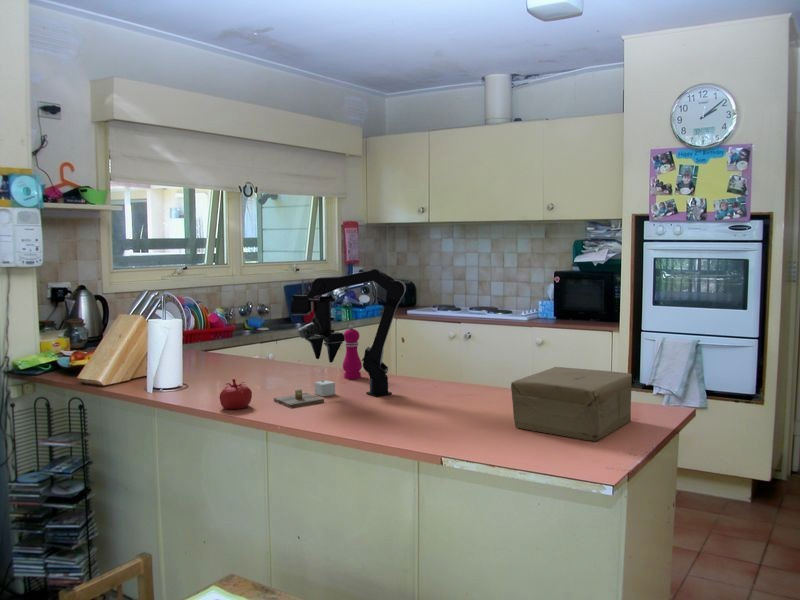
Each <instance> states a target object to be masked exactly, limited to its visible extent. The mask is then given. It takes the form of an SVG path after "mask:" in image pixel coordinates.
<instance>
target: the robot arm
mask: <svg viewBox="0 0 800 600" xmlns="http://www.w3.org/2000/svg"><path fill="white" fill-rule="evenodd" d="M370 282H374V283H376V284H377V285H378V286H380V287H381V288H382V289H384V290H385V291H386V294H385V295H386V296H385V305H384V309H383V312H382V315H381V318H380V320H379V324H378V327H377V330H376V334H375V336H374V340H373V343H372V345H371V347H369V346H367V347H366V348H365V349H364V355H363V358H362V359H361V362H362V367H363V370H364V371H365V372H366V373H368V376H369V391H366V395H370V396H373V397H377V398H378V397H383V396H387V395H388V396H389V395H393V392H392V391H389V377H388V375H387V374H388V372H389V366H387V365H386V364H385V363H384V362H383V359H384V358H383V357H384V350H385V349H384V348H385V344H386V341H387V338H388V335H389V332H390V329H391V326H392V322H393V319H394V317H395V313H396V311H397V308H398V306H399V304H400V303H401V300H402V299H403V297H404V295H405V293H406V291H407V285H406V283H405V282H404V281H403V280H400V279H394V278H393V277H391V276H389V275H388V274H386V273H384V272H383V271H381V270H380V269H379V268H372V269H371V270H366V271H360V272H356V273H351V274H345V275H341V276H321V277H318V278H315V279H314V280H313V282H312V283H311V289H310V290H309V292H308V293H307V294H306V295H305V294H303V295H302V294H301V295H299V294H292V295H291V298H292V299H291V303H290V313H291V315H292V316H309V315H310V314H311V313H312V312H313V314H314V315H313V317H311V320H310V323H308V324H305V325H303V326H301V327H299V328H298V333H299V336H300V338H301V339H304V340H305V341H307V342H308V343H310V345H311V348H312V350H313V354H314V357H315V359H316V360H319V359H320V357H321V353H322V349H323V344H324V345H325V347H326V348H327V356H328V362H329V363H333V362H334V361H335V358H336V355H337V353H338V351H339V349H340V348H341V346H342V344H343V342H346V341H345V335H344V332H339V331H335V329H334V328H333V327H332V324H333V321H335V318H334V317H333V316H332V305H331V304H332V302H336V301H337V298H336V297H335V296H334V295H333V293H331V292H334V291H336V290H338V289H341V288H345V287H351V286H355V285H359V284H366V283H370ZM328 293H330V294H329V295H328V296H327V295H326V294H328ZM324 295H325V296H324ZM318 296H319V299H318V298H317V299H315V298H316V297H318Z"/></svg>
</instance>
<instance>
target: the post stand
mask: <svg viewBox="0 0 800 600" xmlns="http://www.w3.org/2000/svg"><path fill="white" fill-rule="evenodd" d="M294 392H295V393H294V394H291V395H285V396H278V397H273V401H274V402H275V401H276V402H275V403H277V402H279V403H278V404H280V403H281V404H280V405H282V404H284V405H283V406H285V405H286V407H287V406H288V407H287V408H290V407H293V408H298V407H297V406H299V407H304V405H305V406H310V405H315V404H321V403H324V402H325V398H322V397H321V396H320V397H319V396H318V395H317V396H316V395H315V394H314V395H313V394H311V393H308V392H304V393H303V390H302V389H295V390H294Z"/></svg>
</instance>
